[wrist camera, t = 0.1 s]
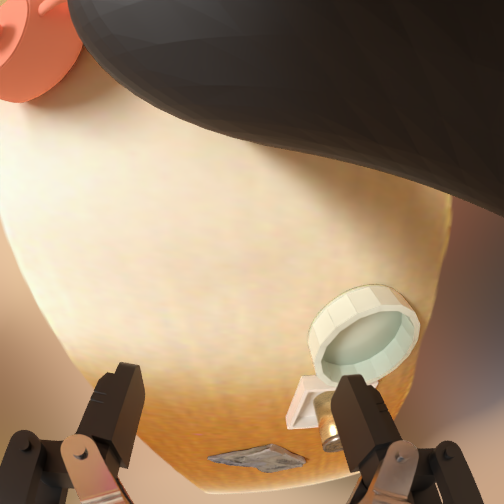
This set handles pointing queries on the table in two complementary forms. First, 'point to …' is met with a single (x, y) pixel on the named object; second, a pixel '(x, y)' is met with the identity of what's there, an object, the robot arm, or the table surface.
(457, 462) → the robot arm
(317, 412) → the glass jar with lid
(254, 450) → the fossil rock
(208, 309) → the table surface
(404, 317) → the bowl
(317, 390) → the parts tray
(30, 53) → the teapot
